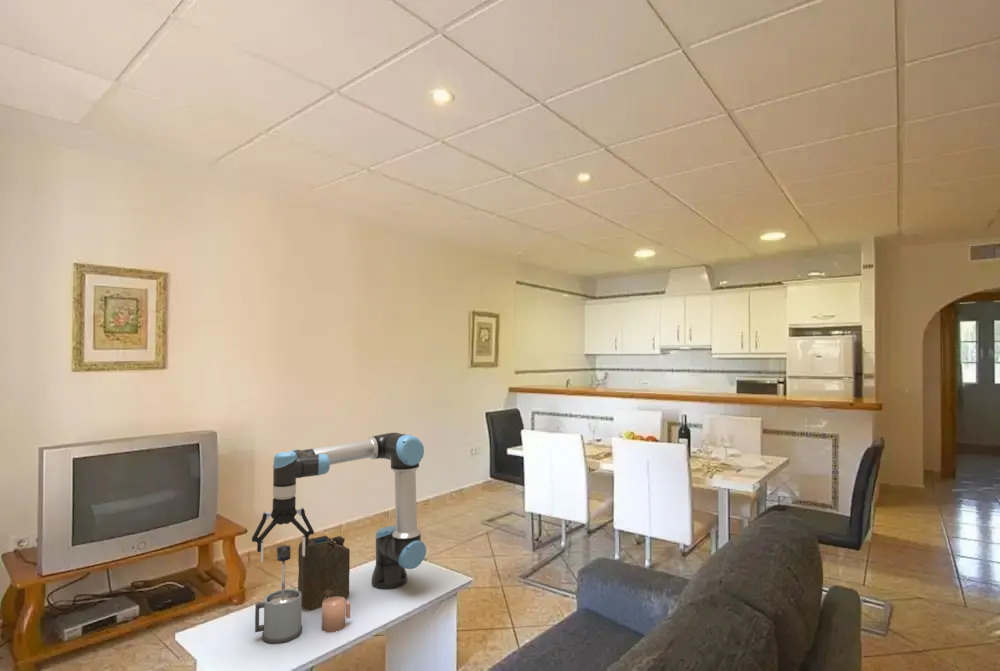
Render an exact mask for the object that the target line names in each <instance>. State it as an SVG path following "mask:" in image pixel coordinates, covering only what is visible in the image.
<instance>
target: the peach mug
mask: <svg viewBox="0 0 1000 671" xmlns="http://www.w3.org/2000/svg"><path fill="white" fill-rule="evenodd" d="M321 608H322V609H321V611H322V612H321V629H322V631H323V632H324V631H325V633H337V632H339V631H341V630H344V629H345V627H346V619H347V620H348V619H351V601H346V599H345V598H344V597H340V596H335V597H330V598H327V599H325V600H324V601H323V602H322V607H321ZM336 631H337V632H336Z"/></svg>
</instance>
